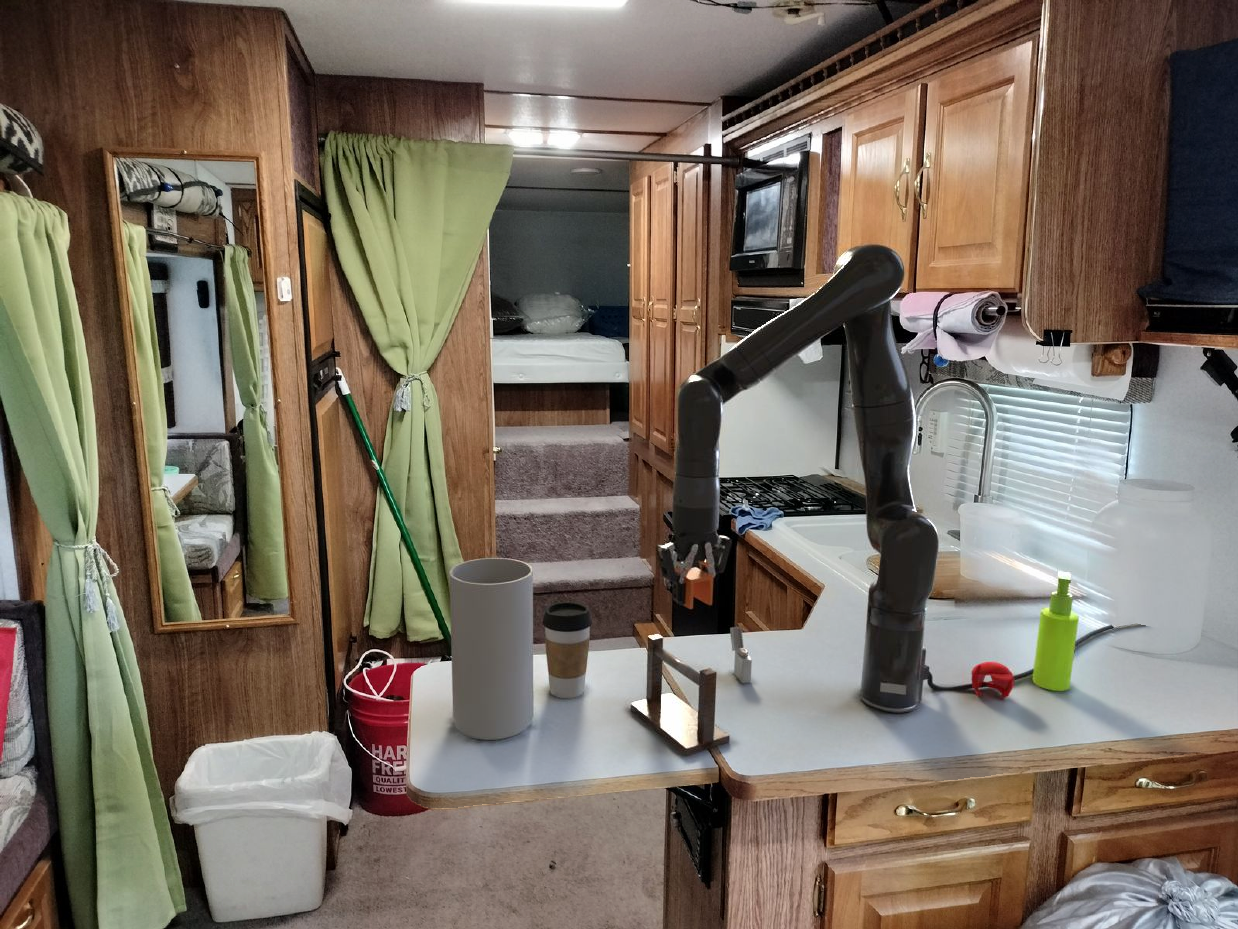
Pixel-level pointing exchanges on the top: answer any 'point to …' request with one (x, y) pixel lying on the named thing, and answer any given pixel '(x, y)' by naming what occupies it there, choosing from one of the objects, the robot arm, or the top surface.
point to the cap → (993, 677)
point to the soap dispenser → (1056, 639)
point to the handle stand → (679, 704)
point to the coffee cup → (567, 647)
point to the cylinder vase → (492, 647)
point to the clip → (698, 587)
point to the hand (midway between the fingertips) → (692, 600)
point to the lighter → (740, 656)
